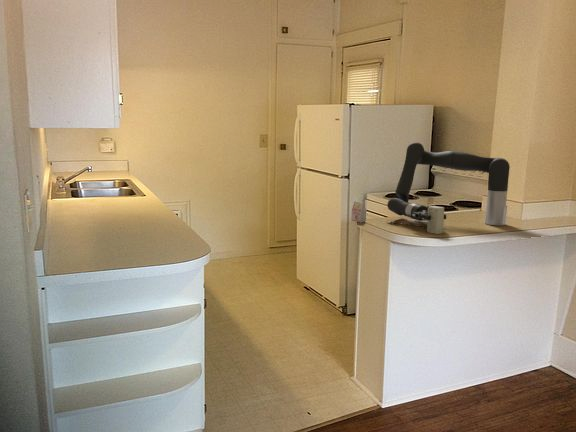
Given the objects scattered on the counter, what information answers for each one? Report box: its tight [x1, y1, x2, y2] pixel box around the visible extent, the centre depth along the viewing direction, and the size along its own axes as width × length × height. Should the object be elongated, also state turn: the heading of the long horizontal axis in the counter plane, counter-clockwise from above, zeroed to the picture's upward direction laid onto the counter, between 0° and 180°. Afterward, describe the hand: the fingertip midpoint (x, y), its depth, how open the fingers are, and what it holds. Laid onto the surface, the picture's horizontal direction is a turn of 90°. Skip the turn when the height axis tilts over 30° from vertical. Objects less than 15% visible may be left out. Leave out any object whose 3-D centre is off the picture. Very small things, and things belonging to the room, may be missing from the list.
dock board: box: [393, 217, 428, 228], centre depth 257 cm, size 20×12×2 cm, turn 52°
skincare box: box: [426, 205, 445, 235], centre depth 236 cm, size 6×4×12 cm
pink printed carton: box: [351, 200, 367, 224], centre depth 261 cm, size 4×7×10 cm, turn 35°
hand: (438, 217), depth 234 cm, fingers open, 8 cm apart
